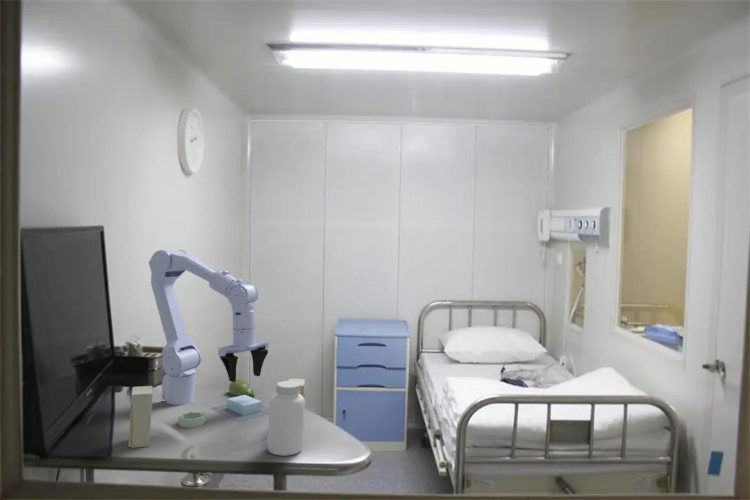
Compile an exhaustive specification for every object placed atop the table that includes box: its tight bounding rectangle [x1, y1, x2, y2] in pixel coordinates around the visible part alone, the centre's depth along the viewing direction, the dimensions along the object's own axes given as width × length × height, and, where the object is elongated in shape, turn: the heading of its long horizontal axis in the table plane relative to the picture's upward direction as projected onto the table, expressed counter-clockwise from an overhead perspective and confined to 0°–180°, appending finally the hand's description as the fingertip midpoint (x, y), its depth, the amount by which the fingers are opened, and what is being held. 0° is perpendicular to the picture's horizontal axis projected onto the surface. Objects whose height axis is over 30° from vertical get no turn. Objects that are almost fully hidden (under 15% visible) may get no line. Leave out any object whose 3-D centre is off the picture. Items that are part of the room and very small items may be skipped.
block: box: [226, 395, 263, 416], centre depth 132 cm, size 8×6×3 cm
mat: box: [210, 403, 270, 423], centre depth 132 cm, size 14×12×1 cm
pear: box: [228, 379, 255, 399], centre depth 145 cm, size 6×5×10 cm
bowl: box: [177, 410, 207, 428], centre depth 121 cm, size 6×6×3 cm
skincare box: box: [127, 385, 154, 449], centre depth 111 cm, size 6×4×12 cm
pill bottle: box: [267, 380, 306, 457], centre depth 111 cm, size 8×8×15 cm
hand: (244, 378), depth 132 cm, fingers open, 7 cm apart
